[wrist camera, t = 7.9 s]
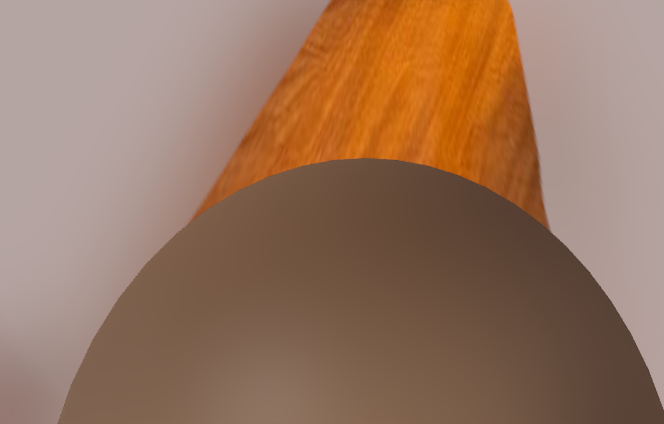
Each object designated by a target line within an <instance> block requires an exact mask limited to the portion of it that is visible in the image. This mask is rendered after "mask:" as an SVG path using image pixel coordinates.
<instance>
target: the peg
mask: <svg viewBox="0 0 664 424" xmlns="http://www.w3.org/2000/svg"><path fill="white" fill-rule="evenodd" d="M58 424H664V410H663V407H662V404H661V402H660V399H659V396H658V394H657V391H656V388H655V386H654V383H653V381H652V378H651V375H650V373H649V370H648V368H647V366H646V364H645V362H644V360H643V358H642V356H641V354H640V352H639V349H638V348H637V345H636V343H635V341H634V339H633V337H632V335H631V333H630V331H629V330H628V328H627V327H626V325H625V323H624V322H623V320H622V318H621V317H620V315H619V313H618V312H617V310H616V308H615V307H614V305H613V304H612V302H611V300H610V299H609V298H608V296H607V295H606V294H605V292H604V291H603V290H602V288H601V287H600V286H599V284H598V283H597V282H596V281H595V279H594V278H593V276H592V275H591V274H590V272H589V271H588V270H587V269H586V268H585V267H584V266H583V264H582V263H581V262H580V261H579V260H578V259H577V258H576V257H575V256H574V255H573V253H572V252H571V251H570V250H569V249H568V248H567V247H566V246H565V245H564V244H563V243H562V242H561V241H560V240H559V239H557V237H555V236H554V235H553V234H552V233H551V232H550V231H549V230H548V229H547V228H545V227H544V226H543V225H542V224H541V223H540V222H538V221H537V220H536V219H534V218H533V217H532V216H530V215H529V214H527V213H526V212H525V211H523V210H522V209H521V208H519V207H518V206H516V205H515V204H514V203H512V202H510V201H509V200H507V199H505V198H503V197H502V196H500V195H498V194H496V193H495V192H493V191H491V190H489V189H488V188H486V187H484V186H481V185H479V184H477V183H475V182H472V181H470V180H468V179H466V178H463V177H461V176H459V175H456V174H453V173H450V172H446V171H443V170H440V169H437V168H433V167H430V166H426V165H421V164H415V163H410V162H405V161H399V160H387V159H371V158H361V159H344V160H332V161H327V162H321V163H316V164H310V165H305V166H301V167H298V168H294V169H291V170H288V171H285V172H282V173H279V174H275V175H272V176H269V177H267V178H265V179H263V180H261V181H258V182H256V183H254V184H252V185H250V186H247V187H245V188H243V189H241V190H239V191H237V192H235V193H234V194H232V195H230V196H229V197H227V198H226V199H224V200H222V201H221V202H219V203H217V204H216V205H214V206H212V207H211V208H209V209H207V210H206V211H205V212H204V213H202V214H201V215H200V216H198V217H197V218H196V219H195V220H193V221H192V222H191V223H190V224H188V225H187V226H186V227H184V228H183V229H182V230H181V231H179V232H178V233H177V234H176V235H175V236H174V237H173V238H172V239H171V240H170V241H169V242H168V243H167V244H166V245H165V246H164V247H163V248H162V249H161V250H160V251H159V252H158V253H157V254H156V255H155V256H154V257H153V258H152V259H151V260H150V261H149V262H147V264H146V265H145V266H144V267H143V269H142V270H141V271H140V272H139V274H138V275H137V276H136V277H135V279H134V280H133V281H132V282H131V284H130V285H129V286H128V287H127V289H126V290H125V291H124V292H123V294H122V295H121V296H120V297H119V299H118V300H117V302H116V303H115V305H114V307H113V308H112V310H111V311H110V313H109V315H108V316H107V318H106V319H105V321H104V323H103V324H102V326H101V328H100V329H99V331H98V332H97V334H96V336H95V337H94V339H93V340H92V343H91V345H90V347H89V349H88V351H87V353H86V355H85V357H84V359H83V361H82V364H81V366H80V368H79V370H78V372H77V374H76V376H75V378H74V380H73V382H72V384H71V387H70V390H69V392H68V396H67V398H66V401H65V404H64V407H63V410H62V413H61V415H60V418H59V421H58Z"/></svg>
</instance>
